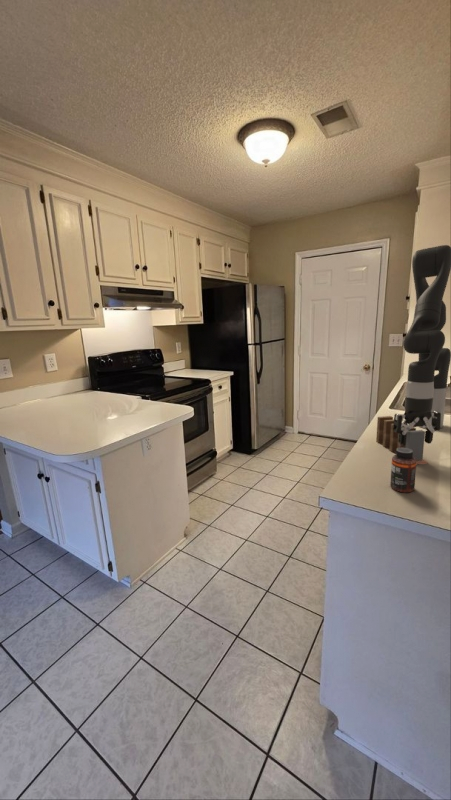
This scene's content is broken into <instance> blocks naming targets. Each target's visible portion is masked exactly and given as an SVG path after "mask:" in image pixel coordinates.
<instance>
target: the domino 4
mask: <svg viewBox="0 0 451 800" xmlns="http://www.w3.org/2000/svg"><path fill="white" fill-rule="evenodd" d="M416 430H417V427H412V428H411V429H410V430H408V431H416ZM405 435H406V436H407V433H406V434H405ZM398 437H399V433H398ZM397 448H406V445H405V446H402V445H401V444H400V443H399V442H398V443H397Z"/></svg>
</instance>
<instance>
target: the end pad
mask: <svg viewBox="0 0 451 800" xmlns="http://www.w3.org/2000/svg"><path fill="white" fill-rule="evenodd" d="M427 464H428V462H427V461H426V460H424V459H422V461H416V465H427Z"/></svg>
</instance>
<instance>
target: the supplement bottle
mask: <svg viewBox="0 0 451 800" xmlns="http://www.w3.org/2000/svg"><path fill="white" fill-rule="evenodd" d="M390 470H391V471H390V483H389V484H390V488H392V490H394V491H397V492H399V493H400V492H401V493H411V492H413V491H414V490H415V485H416V472H417V471H416V470H417V464H416V459H415V458H414V457H413V451H412V450H411V449H409V448H397V449H396V452H395V455H393V456H392V458H391V469H390Z"/></svg>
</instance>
